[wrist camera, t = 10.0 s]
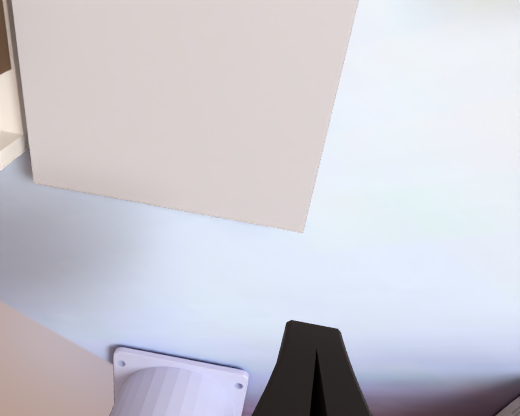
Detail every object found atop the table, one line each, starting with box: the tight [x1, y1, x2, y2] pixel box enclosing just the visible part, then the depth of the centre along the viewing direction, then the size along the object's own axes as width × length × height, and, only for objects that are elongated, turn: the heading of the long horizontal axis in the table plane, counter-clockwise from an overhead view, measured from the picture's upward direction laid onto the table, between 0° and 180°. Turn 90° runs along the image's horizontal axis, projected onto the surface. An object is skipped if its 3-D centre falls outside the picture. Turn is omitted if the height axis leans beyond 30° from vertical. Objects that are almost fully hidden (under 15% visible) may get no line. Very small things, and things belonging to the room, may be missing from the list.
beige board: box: [12, 0, 359, 233], centre depth 18 cm, size 14×12×2 cm
